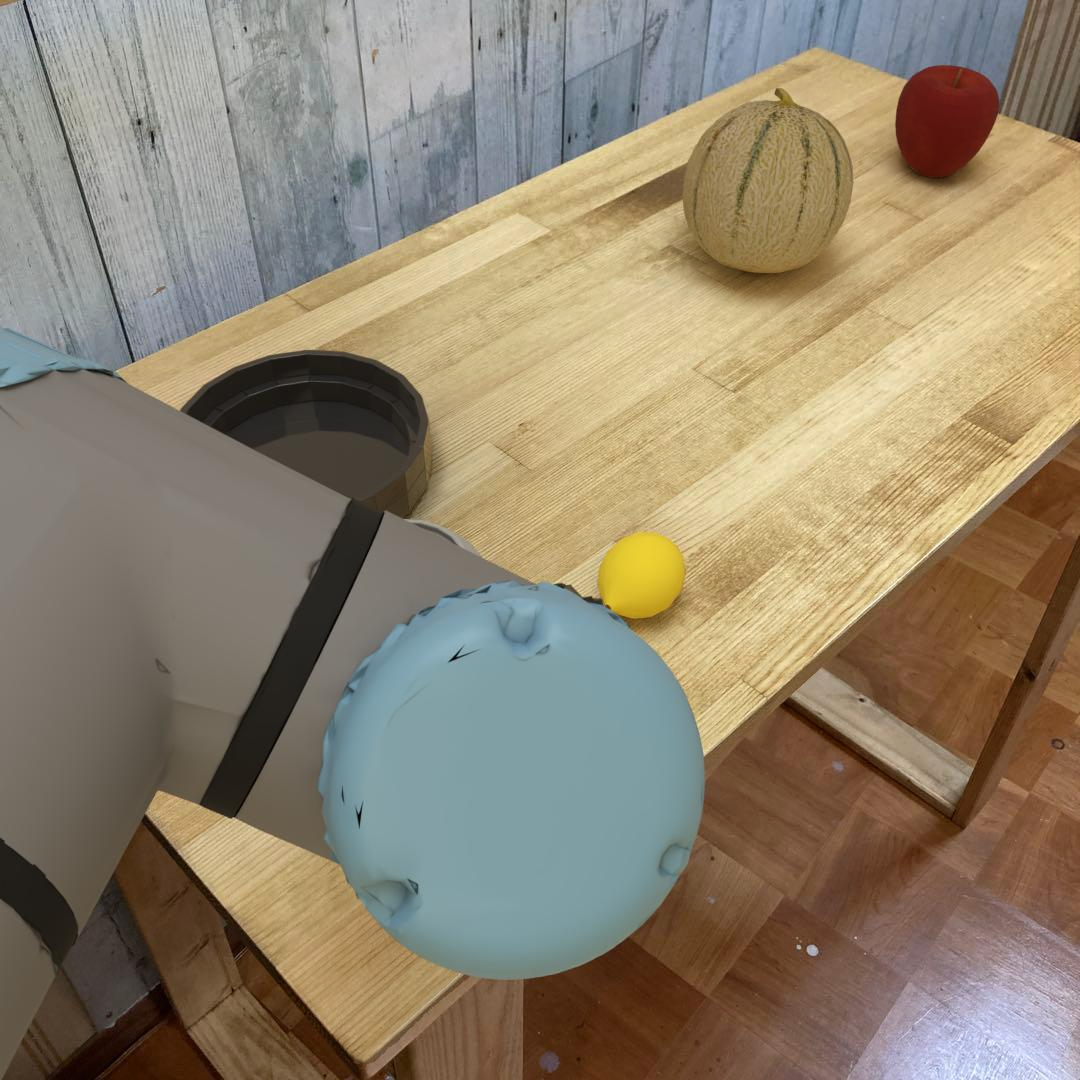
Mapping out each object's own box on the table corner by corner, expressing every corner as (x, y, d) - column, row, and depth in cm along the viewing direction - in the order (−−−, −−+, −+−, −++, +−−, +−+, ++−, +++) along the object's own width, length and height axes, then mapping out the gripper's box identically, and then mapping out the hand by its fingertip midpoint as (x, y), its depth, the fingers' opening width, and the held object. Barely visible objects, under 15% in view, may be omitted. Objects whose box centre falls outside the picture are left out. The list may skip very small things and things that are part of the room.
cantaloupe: (697, 314, 98) (717, 152, 88) (659, 225, 108) (673, 70, 98) (859, 299, 100) (899, 139, 89) (807, 213, 110) (837, 60, 99)
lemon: (639, 554, 79) (644, 499, 75) (702, 594, 76) (711, 538, 72) (573, 612, 75) (575, 556, 71) (637, 655, 72) (643, 600, 69)
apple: (973, 199, 112) (1003, 101, 105) (876, 181, 114) (899, 84, 107) (983, 155, 118) (1012, 60, 111) (891, 139, 121) (914, 45, 113)
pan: (187, 584, 76) (172, 538, 73) (179, 415, 89) (166, 369, 85) (452, 537, 80) (449, 491, 76) (409, 380, 92) (405, 335, 88)
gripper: (138, 872, 34) (215, 736, 57) (769, 739, 38) (605, 660, 60) (93, 627, 34) (189, 588, 56) (734, 516, 37) (582, 521, 60)
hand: (404, 625), depth 58 cm, fingers closed on soda can, 7 cm apart
